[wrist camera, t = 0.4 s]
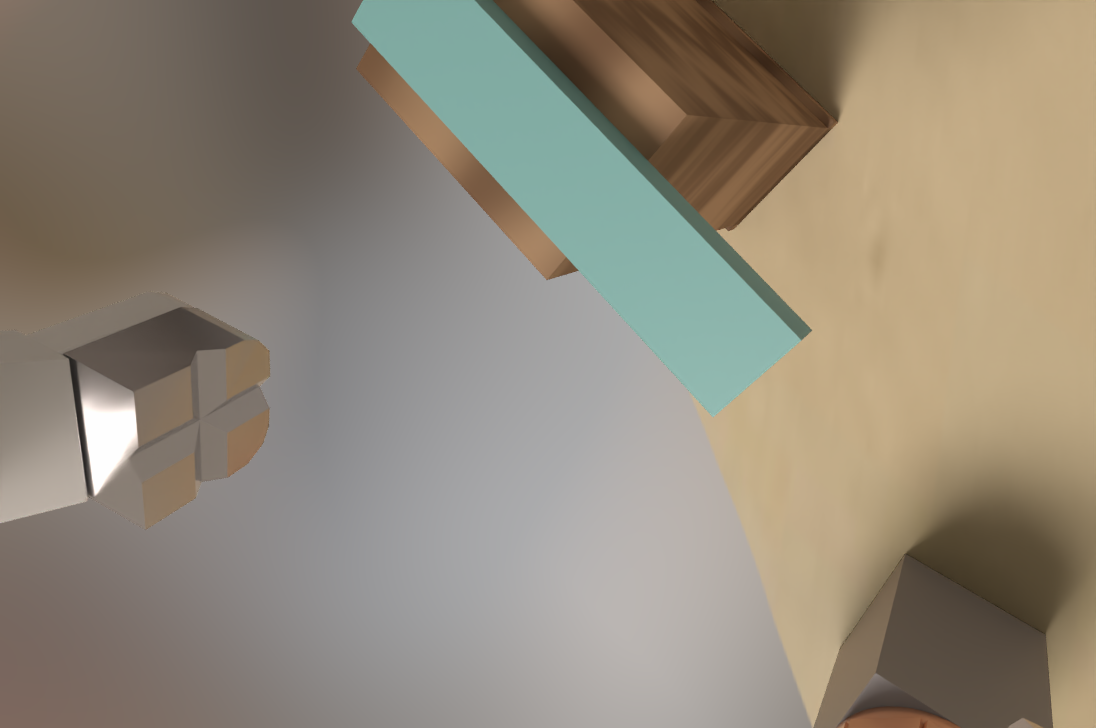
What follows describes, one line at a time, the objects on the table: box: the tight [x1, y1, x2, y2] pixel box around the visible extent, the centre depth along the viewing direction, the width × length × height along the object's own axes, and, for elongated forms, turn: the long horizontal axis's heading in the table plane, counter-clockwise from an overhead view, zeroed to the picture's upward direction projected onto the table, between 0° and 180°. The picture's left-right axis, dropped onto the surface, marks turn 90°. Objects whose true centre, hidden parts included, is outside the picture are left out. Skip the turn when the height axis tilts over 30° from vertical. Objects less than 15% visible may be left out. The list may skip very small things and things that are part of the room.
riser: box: [814, 554, 1053, 728], centre depth 47 cm, size 9×9×14 cm
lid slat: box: [352, 0, 812, 417], centre depth 28 cm, size 20×4×2 cm, turn 48°
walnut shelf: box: [356, 0, 838, 280], centre depth 41 cm, size 12×9×26 cm
